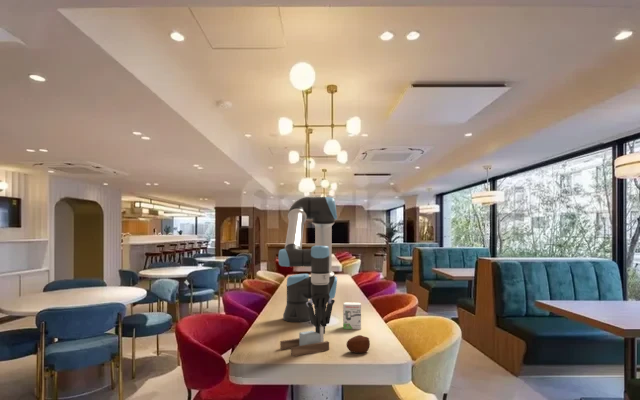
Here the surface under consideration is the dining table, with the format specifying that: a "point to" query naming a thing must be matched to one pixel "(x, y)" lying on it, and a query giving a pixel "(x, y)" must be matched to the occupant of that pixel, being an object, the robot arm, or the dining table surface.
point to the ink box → (351, 315)
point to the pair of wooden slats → (303, 347)
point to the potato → (358, 344)
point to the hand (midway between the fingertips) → (320, 342)
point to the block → (308, 338)
